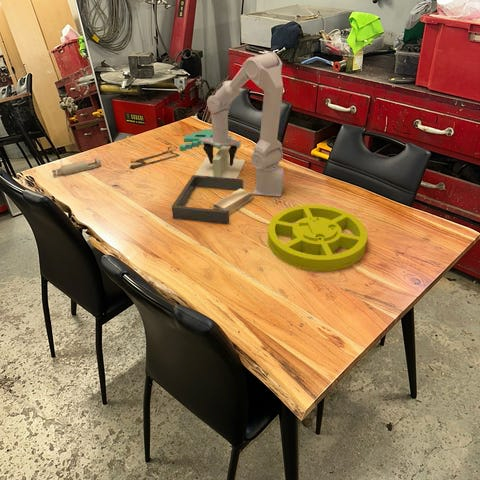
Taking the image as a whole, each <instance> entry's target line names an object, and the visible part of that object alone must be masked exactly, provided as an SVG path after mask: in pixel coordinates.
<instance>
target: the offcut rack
mask: <svg viewBox="0 0 480 480" xmlns="http://www.w3.org/2000/svg"><path fill="white" fill-rule="evenodd" d="M196 188H204V189H205V188H206V189H217V190H226V191H237V190H238V189H243V190H244V179H243V178H237V179H235V178H223V177H211V176H200V175H195V174H193V175H191V177H190V178H189V180H188V181H187V183H186V184H185V186H184V188H183V189H182V190H181V191H180V194H179V195H178V197H177V198H176V199H175V201H174V202H173V204H172V205H171V210H172V211H171V212H172V219H177V220H186V221H187V220H188V221H196V222H197V221H198V222H205V223H206V222H207V223H213V224H214V223H215V224H225V225H226V224H227V225H229V223H230V214H229V211H224V210H214V209H213V208H203V207H195V206H194V207H193V206H185V205H186V204H187V202H188V201H189V199H190V197H191V196H192V194H193V192H194V190H196Z"/></svg>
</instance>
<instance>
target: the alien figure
mask: <svg viewBox="0 0 480 480" xmlns="http://www.w3.org/2000/svg"><path fill="white" fill-rule="evenodd" d="M202 138H213V137H212V128H211V129H210V128H209V129H208V128H206V129H205V128H204V129H202V130H198V131H197V132H191V134H185V136H184V138H183V142H184V143H185V144H180V145H179V151H180V152H185V151H186V150H192V148H198V147H199V146H202V145H201V139H202ZM228 138H229V139H231V138H232V135H228ZM186 142H192V143H186ZM221 147H222V146H220V147H219V146H215V145H213V148H217V150H218V149H220V148H221ZM226 147H228V148H229V146H226Z"/></svg>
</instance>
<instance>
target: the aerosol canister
mask: <svg viewBox="0 0 480 480" xmlns="http://www.w3.org/2000/svg"><path fill="white" fill-rule="evenodd" d="M60 163H61V166H60V167H59V168H56V169H53V170H51V172H52V175H53V176H54V177H55V176H60V175H63V176H67V175H71V174H76V173H79V172H83V171H87V170H92V169H96V168H99V167H101V165H102V162H101V159H99V158H98V157H95V158H94V161H92V162H89V163H88V161H87V160H81V161H77V162H73V163H69V164H63V162H62V159H61V158H60Z"/></svg>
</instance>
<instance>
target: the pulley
mask: <svg viewBox="0 0 480 480" xmlns="http://www.w3.org/2000/svg"><path fill="white" fill-rule="evenodd" d="M295 221H296V222H295ZM293 222H294V223H293ZM345 228H346V230H348V231H350V232H351V234H348V233H343V229H345ZM278 236H284V237H288V238H291V240H290V241H288V242H286V243H284V242H283V241H281V240H280V238H279V237H278ZM367 240H368V231H367V228H366V227H365V225H364V224H363V222H362V221H361V220H360V219H359V218H358V217H356V216H355V215H353V214H351V213H350V212H347V211H345V210H343V209H340V208H337V207H334V206H328V205H323V204H322V205H321V204H301V205H297V206H292V207H289V208H286V209H283V210H282V211H280V212H278V213H277V214H275V215H274V216H273V217H272V218H271V219H270V221H269V223H268V228H267V244H268V247H269V249H270V250H271V252H272V254H273V255H274V256H276V257H277V259H279V260H281V261H282V262H283V263H286V264H287V265H289V266H292V267H294V268H297V269H300V270H301V269H302V270H306V271H311V272H312V271H313V272H333V271H338V270H343V269H346V268H348V267H351V266H352V265H354V264H355V263H357V262H358V261H359V260H361V258H362V257H363V255H364V254H365V251H366V246H367ZM340 248H341V249H347V250H345V251H343V252H338V253H335V254H333V253H334V252H336V251H337V250H339V249H340Z"/></svg>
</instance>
